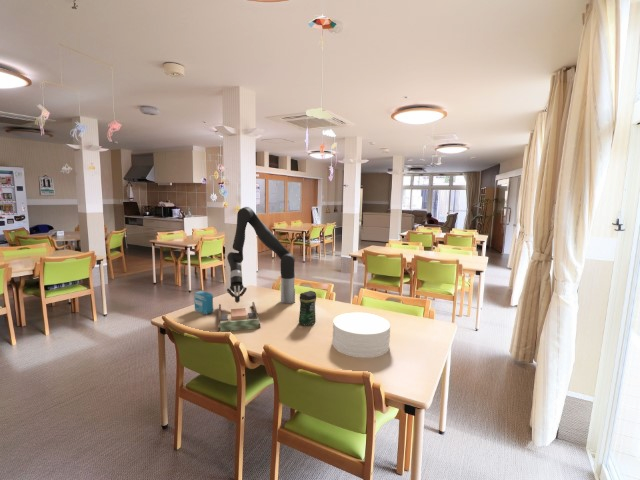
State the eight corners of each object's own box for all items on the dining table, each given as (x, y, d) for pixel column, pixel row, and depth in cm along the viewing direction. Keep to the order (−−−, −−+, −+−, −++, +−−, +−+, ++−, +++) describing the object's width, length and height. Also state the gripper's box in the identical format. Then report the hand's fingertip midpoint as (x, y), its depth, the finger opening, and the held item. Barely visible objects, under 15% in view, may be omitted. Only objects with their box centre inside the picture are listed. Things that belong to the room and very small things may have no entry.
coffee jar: (306, 327, 181) (307, 295, 179) (296, 323, 186) (297, 292, 184) (318, 322, 189) (318, 291, 186) (307, 319, 194) (308, 288, 191)
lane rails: (254, 305, 215) (253, 298, 214) (260, 328, 179) (260, 319, 178) (219, 307, 209) (219, 300, 208) (218, 331, 173) (218, 322, 172)
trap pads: (254, 312, 201) (254, 312, 201) (255, 317, 194) (255, 317, 194) (220, 315, 196) (220, 315, 196) (220, 320, 188) (220, 319, 188)
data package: (194, 310, 203) (194, 292, 201) (200, 308, 207) (200, 290, 205) (207, 314, 196) (206, 295, 195) (213, 312, 200) (212, 293, 199)
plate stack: (352, 328, 182) (353, 308, 181) (398, 343, 165) (400, 321, 163) (321, 345, 161) (321, 322, 159) (370, 364, 143) (371, 339, 142)
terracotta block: (245, 319, 191) (245, 308, 190) (246, 327, 180) (246, 315, 179) (231, 320, 189) (230, 309, 188) (231, 328, 177) (231, 316, 176)
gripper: (225, 275, 210) (226, 300, 200) (246, 274, 214) (248, 298, 204) (225, 281, 215) (226, 305, 205) (246, 280, 219) (247, 304, 209)
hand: (237, 302), depth 205 cm, fingers closed
